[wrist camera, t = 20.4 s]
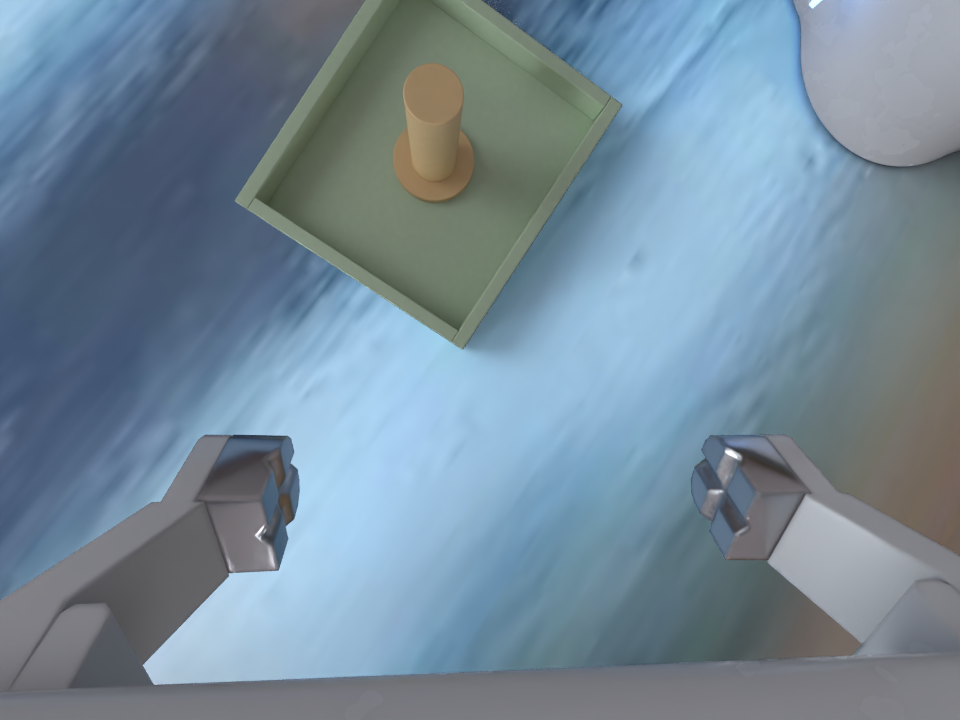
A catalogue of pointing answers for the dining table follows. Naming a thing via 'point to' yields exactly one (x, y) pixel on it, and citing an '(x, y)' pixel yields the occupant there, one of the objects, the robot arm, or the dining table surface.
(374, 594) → the dining table surface
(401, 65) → the tray
